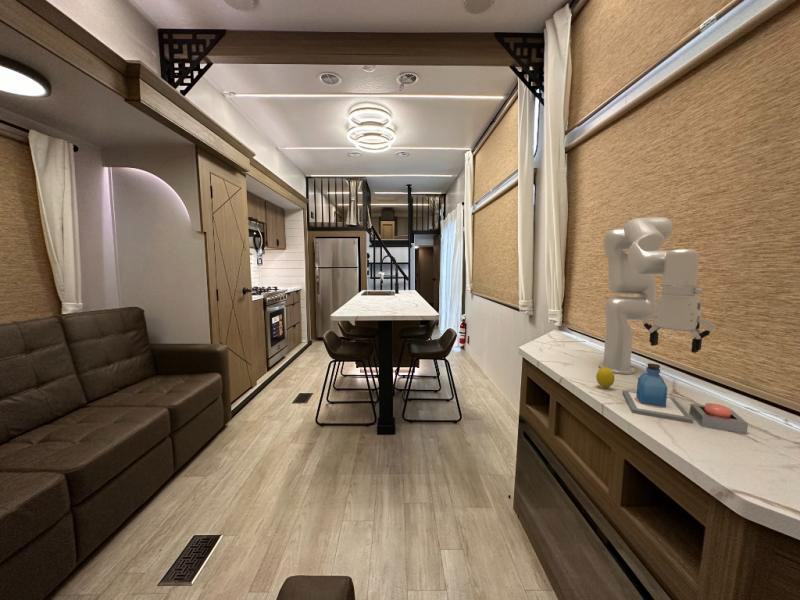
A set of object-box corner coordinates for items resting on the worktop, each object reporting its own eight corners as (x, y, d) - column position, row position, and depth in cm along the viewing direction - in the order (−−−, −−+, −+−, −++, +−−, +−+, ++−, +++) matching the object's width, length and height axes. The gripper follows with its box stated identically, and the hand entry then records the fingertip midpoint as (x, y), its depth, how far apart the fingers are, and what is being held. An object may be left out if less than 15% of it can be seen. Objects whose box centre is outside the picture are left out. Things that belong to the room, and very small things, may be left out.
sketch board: (622, 392, 109) (622, 389, 109) (673, 400, 103) (674, 397, 103) (632, 412, 94) (632, 408, 94) (693, 423, 88) (693, 419, 88)
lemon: (616, 391, 110) (618, 369, 110) (599, 390, 112) (600, 368, 111) (609, 385, 116) (611, 364, 115) (593, 384, 117) (594, 364, 116)
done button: (701, 410, 91) (702, 401, 91) (725, 414, 89) (726, 405, 89) (708, 417, 87) (709, 409, 87) (734, 422, 84) (735, 413, 84)
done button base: (689, 412, 94) (690, 403, 94) (730, 419, 90) (731, 409, 90) (701, 426, 86) (702, 415, 86) (746, 434, 82) (748, 423, 82)
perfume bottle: (640, 403, 98) (643, 366, 97) (636, 396, 103) (639, 361, 102) (665, 407, 95) (669, 369, 94) (660, 400, 100) (663, 363, 99)
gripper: (723, 293, 87) (717, 353, 88) (649, 290, 101) (645, 341, 103) (714, 293, 83) (708, 356, 84) (638, 290, 98) (634, 344, 99)
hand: (673, 348), depth 94 cm, fingers open, 9 cm apart
